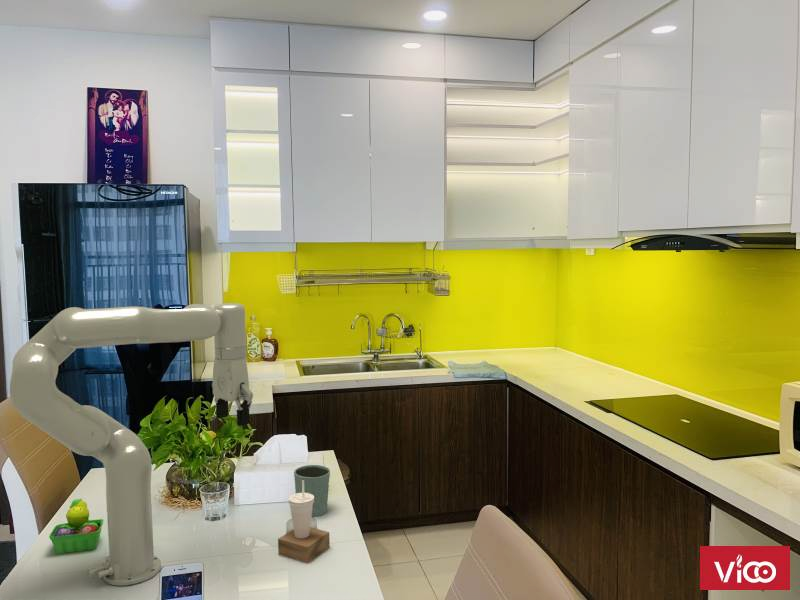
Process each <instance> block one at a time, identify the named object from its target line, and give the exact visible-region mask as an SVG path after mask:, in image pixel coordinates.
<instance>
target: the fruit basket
mask: <svg viewBox="0 0 800 600" xmlns="http://www.w3.org/2000/svg"><path fill="white" fill-rule="evenodd" d="M65 517H66V521H67V523H66V522H65V523H60V524H57V525H55V526H54V528H53V529H52V531H51V532H50V534H49V536H48V538H49V539H50V541H51V543H52V545H53V548H54V550H55V553H56V555H59V554H64V553H66V554H67V553H75V552H81V551H87V550H88V551H89V550H96V549H97V546H98V543H99V542H100V538H101V533H102V527H103V524H104V519H102V518H100V519H89V518H90V511H89V509H88V504H87V502H85V501H84V500H83V498H78V499H76V498H75V499H74V500H72V502H71V504H70V505H69V509H68V510H67V511H66V514H65Z"/></svg>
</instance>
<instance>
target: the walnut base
mask: <svg viewBox="0 0 800 600" xmlns="http://www.w3.org/2000/svg"><path fill="white" fill-rule="evenodd" d="M277 547H278V548H277V550H278V551H277V552H278V555H279V556H282V557H286V558H289V559H292V560H296V561H299V562H302V563H305V564H309V563H310V562H312V561H313V560H314V559H316V558H317V557H319V556H320V555H321V554H323V553H324V552H325V551H327V550H328V549H330V547H331V546H330V532H329V531H327V530H322V529H319V528H317V529H315V528H312V527H310V535H309V536H308V537H306V538H296V537H295V535H294V529H293V530H291V531H290V532H288V533H285V534H283V535H282V536H280V537H279V538H278V539H277Z"/></svg>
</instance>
